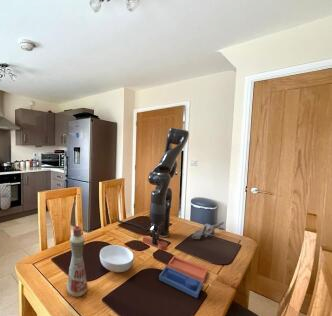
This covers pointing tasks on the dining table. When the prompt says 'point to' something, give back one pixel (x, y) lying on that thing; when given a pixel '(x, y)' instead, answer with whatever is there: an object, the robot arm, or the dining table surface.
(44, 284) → the dining table surface
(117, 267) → the cereal bowl
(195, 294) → the blue tray
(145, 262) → the dining table surface
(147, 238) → the terracotta spoon
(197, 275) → the terracotta tray
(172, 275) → the blue spoon
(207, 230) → the spaceship
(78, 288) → the bottle
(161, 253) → the dining table surface
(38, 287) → the dining table surface
